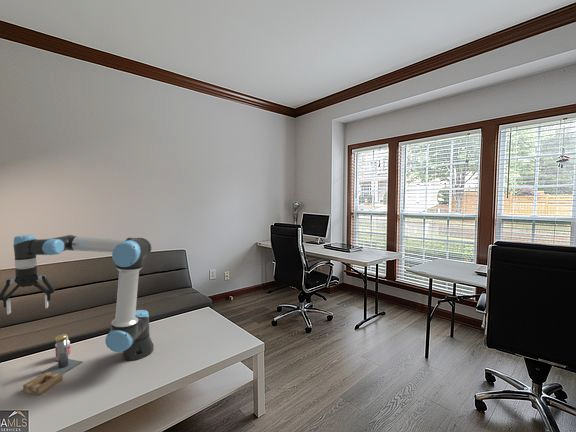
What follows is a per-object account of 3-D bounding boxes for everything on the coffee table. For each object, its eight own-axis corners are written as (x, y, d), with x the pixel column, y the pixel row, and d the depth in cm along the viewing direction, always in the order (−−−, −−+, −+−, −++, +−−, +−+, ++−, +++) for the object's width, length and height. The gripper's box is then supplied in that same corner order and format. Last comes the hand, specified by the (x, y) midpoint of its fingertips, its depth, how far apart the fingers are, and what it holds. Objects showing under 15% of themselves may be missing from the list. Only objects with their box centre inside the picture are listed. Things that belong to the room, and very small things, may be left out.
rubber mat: (82, 362, 143) (82, 361, 142) (60, 375, 132) (60, 374, 132) (66, 359, 145) (66, 358, 145) (43, 372, 135) (43, 371, 135)
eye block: (62, 380, 128) (62, 374, 128) (39, 395, 119) (39, 388, 119) (47, 377, 130) (47, 371, 130) (23, 391, 121) (23, 385, 121)
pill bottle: (70, 358, 146) (68, 338, 146) (55, 362, 143) (53, 341, 142) (71, 353, 151) (70, 333, 151) (57, 356, 148) (55, 337, 147)
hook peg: (69, 362, 142) (67, 332, 141) (68, 366, 138) (66, 336, 137) (58, 365, 139) (56, 335, 139) (56, 369, 135) (54, 339, 135)
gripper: (60, 262, 142) (62, 302, 143) (-8, 269, 128) (-5, 313, 130) (58, 265, 135) (60, 307, 137) (-15, 272, 122) (-12, 319, 123)
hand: (28, 310), depth 133 cm, fingers open, 13 cm apart
